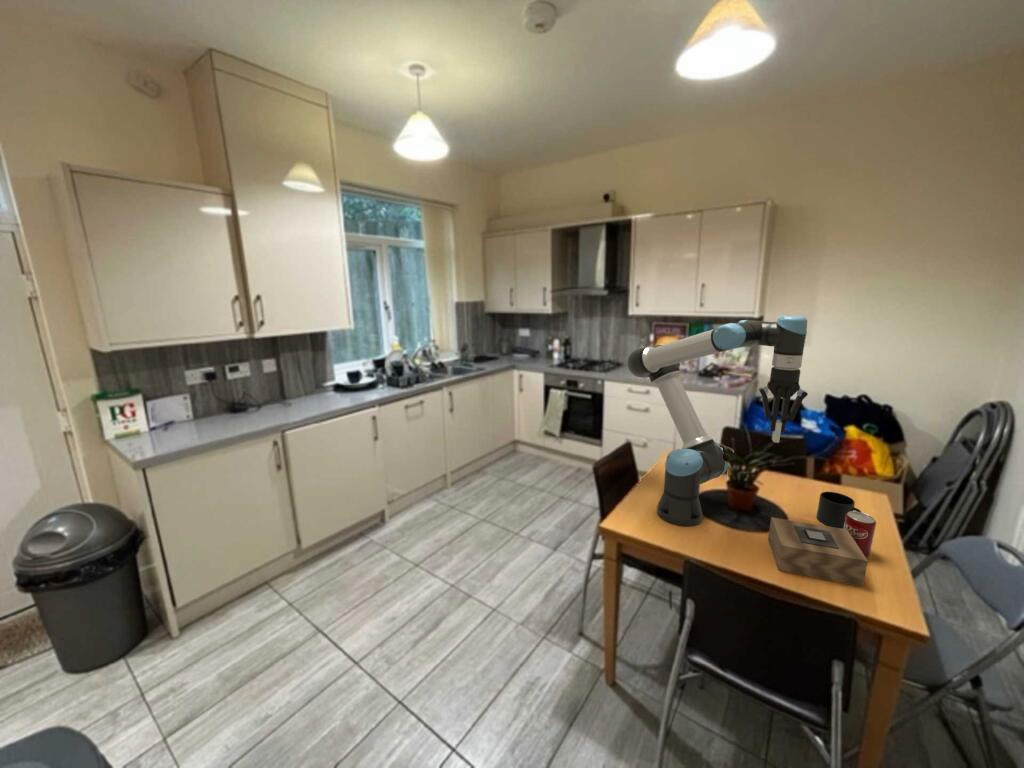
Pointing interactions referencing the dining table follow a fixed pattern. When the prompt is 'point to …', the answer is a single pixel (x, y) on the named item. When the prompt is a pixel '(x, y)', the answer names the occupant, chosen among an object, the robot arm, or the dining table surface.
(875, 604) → the dining table surface
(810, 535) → the peg
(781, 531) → the socket block
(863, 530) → the soda can
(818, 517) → the mug
